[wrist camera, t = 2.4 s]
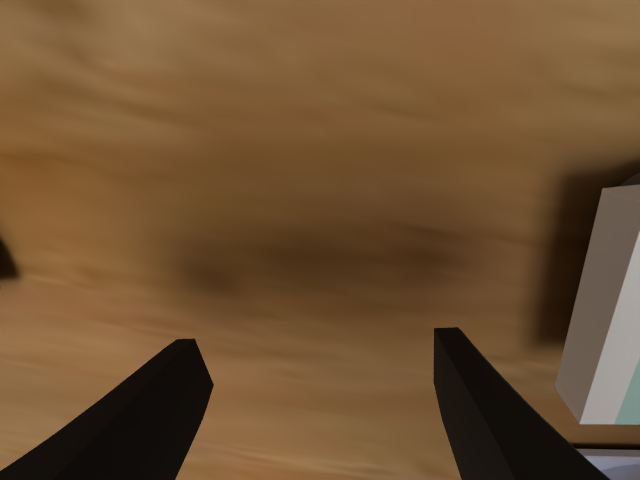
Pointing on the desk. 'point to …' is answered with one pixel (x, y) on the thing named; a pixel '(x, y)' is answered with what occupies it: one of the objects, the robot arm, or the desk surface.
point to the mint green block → (607, 317)
